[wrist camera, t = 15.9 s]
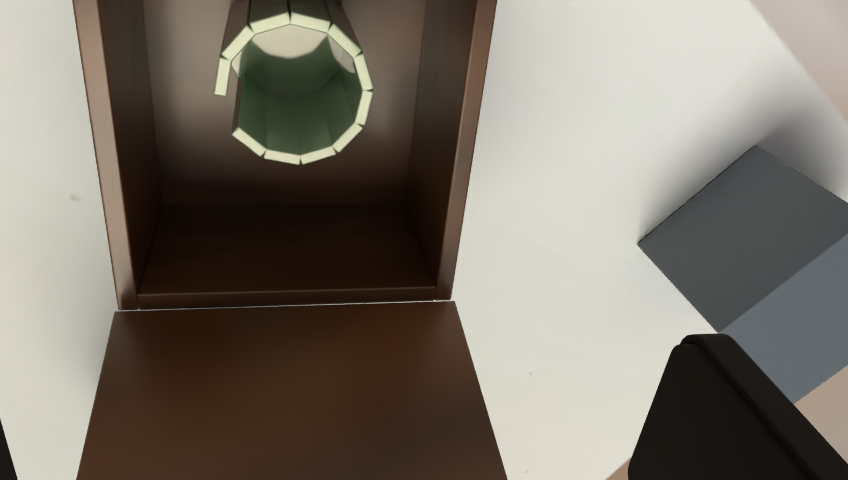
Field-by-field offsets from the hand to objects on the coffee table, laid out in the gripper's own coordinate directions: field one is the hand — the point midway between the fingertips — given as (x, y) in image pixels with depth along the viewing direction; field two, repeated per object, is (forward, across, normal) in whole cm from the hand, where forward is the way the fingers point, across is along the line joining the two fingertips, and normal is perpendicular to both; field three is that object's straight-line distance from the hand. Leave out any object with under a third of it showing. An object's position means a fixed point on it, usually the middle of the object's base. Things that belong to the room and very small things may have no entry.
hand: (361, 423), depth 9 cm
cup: (+21, +1, 0) cm, 21 cm away
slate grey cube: (+22, -24, +10) cm, 34 cm away
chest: (+22, +1, +2) cm, 22 cm away
